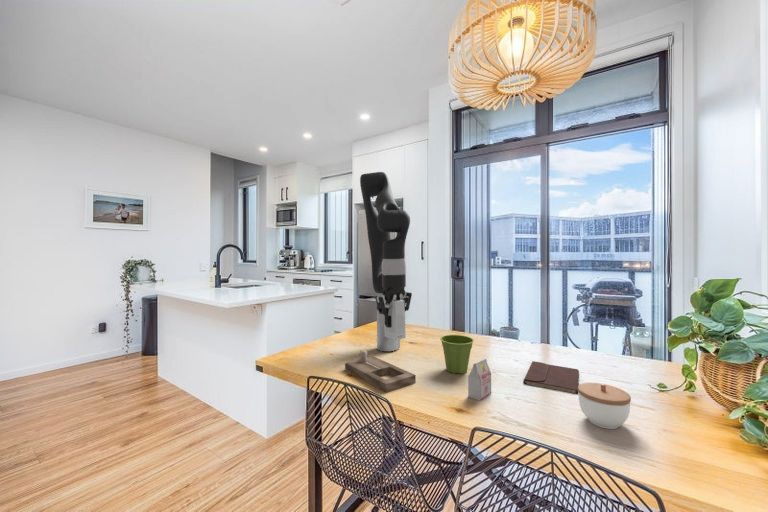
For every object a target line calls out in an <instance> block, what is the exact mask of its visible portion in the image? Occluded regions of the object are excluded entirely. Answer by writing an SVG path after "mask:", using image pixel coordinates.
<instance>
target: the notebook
mask: <svg viewBox="0 0 768 512" xmlns="http://www.w3.org/2000/svg"><path fill="white" fill-rule="evenodd" d="M579 377H580V371H579V369H578V368H572V367H567V366H560V365H556V364H555V365H553V364H547V363H545V362H541V361H533V360H532V362H531V363H530V366H529V368H528V370H527V372H526V374H525V377H524V378H523V382H522V383H523V384H524V383H527V384H526V385H530V384H531V385H532V386H534V387H535V386H536V387H540V388H541V387H542V388H546V389H552V390H557V391H562V392H567V393H572V394H577V395H578V386H579ZM531 385H530V386H531Z"/></svg>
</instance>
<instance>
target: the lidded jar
mask: <svg viewBox="0 0 768 512" xmlns="http://www.w3.org/2000/svg"><path fill="white" fill-rule="evenodd" d="M577 395H578V402H579V407H580V409H581V411H582V413H583V414H584V416H585V417H586V418H587V419H588V421H589V422H590V423H591V424H592V425H594V426H596V427H598V428H602V429H605V430H606V429H608V430H616V429H619V427H620V426H622V425H623V424H624V423H625V422H627V420H628V418H629V415H630V410H631V401H632V400H631V399H632V398H631V395H630V394H629V393H628V391H627V392H626V391H625V390H623V389H621V388H618V387H617V386H613V385H609V384H606V383H599V382H584V383H580V384H578V394H577Z"/></svg>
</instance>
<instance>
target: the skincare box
mask: <svg viewBox="0 0 768 512" xmlns="http://www.w3.org/2000/svg"><path fill="white" fill-rule="evenodd" d="M384 303H385V301H384ZM387 305H388V306H390V304H388V303H387ZM405 306H406V305H405V304H404V301H403V300H396V301H393V308H392V312H391V317H392V327H390V328H388V327H386V325H385V316H384V332H385V336H386V337H389V338H392V339H395V340H400V341H401V340H403V339H406V337H407V336H406V311H405ZM387 310H388V308H387Z"/></svg>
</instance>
